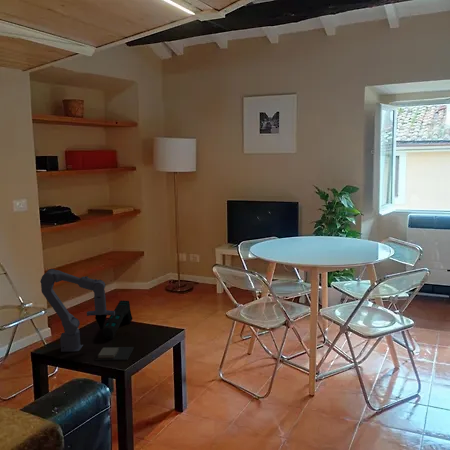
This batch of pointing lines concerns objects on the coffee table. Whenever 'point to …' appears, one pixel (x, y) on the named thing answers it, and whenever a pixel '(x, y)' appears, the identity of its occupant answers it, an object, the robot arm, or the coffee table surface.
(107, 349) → the tile
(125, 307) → the gun
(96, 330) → the coffee table surface
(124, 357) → the mat
